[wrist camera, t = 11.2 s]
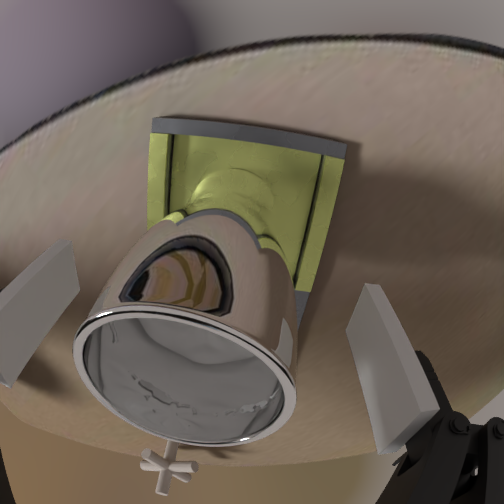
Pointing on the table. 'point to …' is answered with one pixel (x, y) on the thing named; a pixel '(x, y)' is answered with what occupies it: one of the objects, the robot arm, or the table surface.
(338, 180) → the grey flat frame
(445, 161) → the table surface
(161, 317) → the beer glass
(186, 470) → the pipe connector
